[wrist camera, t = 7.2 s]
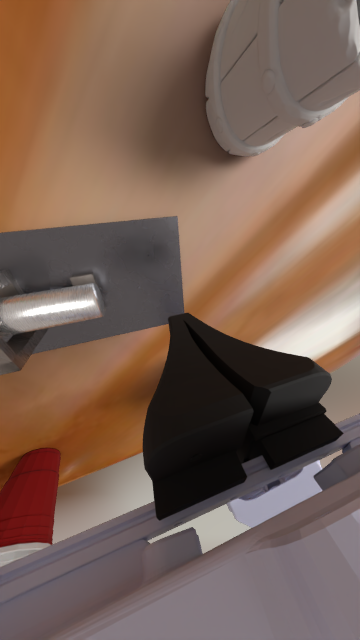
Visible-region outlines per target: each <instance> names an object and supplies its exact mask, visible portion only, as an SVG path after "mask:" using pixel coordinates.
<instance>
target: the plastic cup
mask: <svg viewBox="0 0 360 640" xmlns="http://www.w3.org/2000/svg"><path fill="white" fill-rule="evenodd" d="M60 458H61V457H60V452H59V451H58V450H56V449H51V448H43V449H37V450H33V451H31V452H28V453H26V454H25V455H24V456H23V457H22V459H21V460H20V461H19V463H18V464H17V466H16V468H15V470H14V471H13V473H12V475H11V476H10V478H9V480H8V481H7V482H6V483H5V485H4V487H3V488H2V490H1V492H0V567H2V566H4V565H6V564H9V563H11V562H13V561H16V560H18V559H20V558H23V557H25V556H27V555H30V554H32V553H34V552H37V551H39V550H41V549H44V548H46V547H48V546H51V545H52V535H53V525H54V511H55V504H56V496H57V488H58V480H59V466H60Z"/></svg>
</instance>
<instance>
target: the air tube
mask: <svg viewBox="0 0 360 640" xmlns="http://www.w3.org/2000/svg"><path fill="white" fill-rule="evenodd" d="M104 315H105V307H104V302H103V298H102V295H101V292H100V290H99V288H98V286H97V285H96V284H95V283H91V284H85V285H78V286H72V287H66V288H59V289H53V290H47V291H41V292H34V293H28V294H22V295H16V296H9V297H3V298H0V336H1V337H4V336H9V335H14V334H19V333H24V332H29V331H34V330H39V329H44V328H50V327H55V326H60V325H65V324H70V323H75V322H80V321H85V320H90V319H95V318H100V317H104Z"/></svg>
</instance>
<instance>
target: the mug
mask: <svg viewBox="0 0 360 640" xmlns="http://www.w3.org/2000/svg"><path fill="white" fill-rule="evenodd" d="M359 90H360V0H230V2H229V4H228V6H227V8H226V10H225V12H224V14H223V17H222V19H221V21H220V24H219V26H218V29H217V31H216V34H215V38H214V42H213V46H212V51H211V56H210V61H209V65H208V69H207V75H206V85H205V95H206V97H207V98H208V101H207V102H206V113H207V118H208V121H209V124H210V127H211V130H212V132H213V135H214V137H215V139H216V141H217V142H218V144H219V145H220V146H221V147H222V148H223V149H224V150H225V151H226V152H227V151H228V153H230V154H233V155H239V156H246V157H248V156H256V155H259V154H260V153H262V152H264V151H266V150H268V149H270V148H271V147H272V146H274V145H275V144H276V143H277V142H278V141H279V140H280V139H281V138H282V137H283V136H284V134H286V133H287V132H289V131H291V130H292V129H294V128H296V127H298V126H299V127H300V126H302V128H306V127H308V126H311V125H313V124H315V123H316V122H317V121H319V120H321V119H322V118H323V117H325V116H327V115H329V114H330V113H332V112H333V111H334V110H336V109H337V108H338V107H339V106H340V105H341V104H342V103H343V102H344V101H345V100H346V99H347V98H348V97H349V96H351V95H352V94H354V93H356V92H358V91H359Z"/></svg>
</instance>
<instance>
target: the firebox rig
mask: <svg viewBox="0 0 360 640" xmlns="http://www.w3.org/2000/svg"><path fill="white" fill-rule="evenodd" d="M91 283H95V284H96V285H97V286H98V288H99V290H100V292H101V295H102V298H103V302H104V307H105V315H104V317H100V318H95V319H90V320H85V321H80V322H75V323H70V324H65V325H60V326H55V327H50V328H44V329H39V330H34V331H29V332H24V333H19V334H14V335H9V336H4V337H1V336H0V375H3V374H7V373H11V372H15V371H20V370H21V369H22V367H23V366H24V364H25V363H26V362H27V360H28V359H29V357H30V356H31V354H34V353H39V352H43V351H48V350H52V349H57V348H61V347H66V346H70V345H75V344H79V343H84V342H88V341H93V340H97V339H102V338H106V337H111V336H115V335H120V334H124V333H129V332H133V331H138V330H142V329H147V328H151V327H156V326H160V325H165V324H169V322H168V318H169V317H170V316H174V315H179V314H184V303H183V289H182V275H181V261H180V246H179V232H178V218H177V216H173V217H163V218H152V219H141V220H131V221H120V222H110V223H99V224H88V225H78V226H67V227H57V228H46V229H36V230H25V231H14V232H4V233H0V298H3V297H9V296H16V295H22V294H28V293H34V292H41V291H47V290H53V289H59V288H66V287H72V286H78V285H85V284H91Z"/></svg>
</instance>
